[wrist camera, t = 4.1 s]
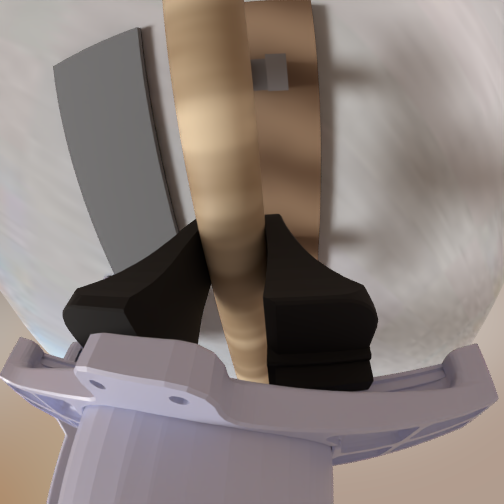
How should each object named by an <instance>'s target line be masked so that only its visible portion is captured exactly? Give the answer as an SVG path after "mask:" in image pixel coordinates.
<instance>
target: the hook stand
mask: <svg viewBox="0 0 504 504" xmlns="http://www.w3.org/2000/svg"><path fill="white" fill-rule="evenodd" d="M244 7H245V16H246V25H247V34H248V43H249V52H250V62H251V71H252V81H253V91H254V102H255V112H256V123H257V134H258V145H259V156H260V168H261V180H262V192H263V204H264V217H265V214H280V215H281V216H282V218H283V221H284V222H285V224H286V226H287V227H288V229H289V230H290V232H291V233H292V234H293V236H294V237H295V238H296V240H297V241H298V242H299V243H300V244H301V245H302V247H303V248H304V249H305V250H306V251H307V252H308V253H309V254H311V255H312V256H313V257H314V258H315V259H316V260H318V245H319V225H320V194H321V129H320V100H319V81H318V66H317V54H316V43H315V33H314V23H313V15H312V7H311V0H265V1H251V2H244Z"/></svg>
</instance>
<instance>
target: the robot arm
mask: <svg viewBox="0 0 504 504" xmlns="http://www.w3.org/2000/svg"><path fill="white" fill-rule="evenodd" d="M265 232H266V246H267V270H266V279H265V286H264V292H263V306H264V317H265V328H266V339H267V369H268V379H269V384H263V383H257V382H251V381H245V380H239V379H234V378H230V377H229V376H228V373H227V370H226V367H225V365H224V364H223V362H222V361H221V360H220V359H219V358H218V357H217V355H216V354H215V353H214V352H212V351H210V350H208V349H206V348H204V347H202V346H200V345H198V339H199V332H200V325H201V319H202V314H203V310H204V306H205V303H206V300H207V296H208V293H209V289H210V286H211V280H210V276H209V272H208V268H207V264H206V259H205V255H204V251H203V247H202V242H201V238H200V233H199V229H198V224H197V220H196V219H195V220H194V221H192V222H191V223H190V224H188V225H187V226H186V227H185V228H184V229H182V230H181V231H180V232H179V233H178V234H176V235H175V236H174V237H173V238H172V239H170V240H169V241H168V242H166V243H165V244H164V245H162V246H161V247H160V248H159V249H157V250H156V251H154V252H153V253H152V254H150V255H149V256H147V257H146V258H144V259H142V260H141V261H139V262H137V263H136V264H134V265H132V266H130V267H128V268H126V269H125V270H123V271H121V272H119V273H117V274H115V275H112V276H110V277H105V278H104V279H103V280H101V281H98V282H95V283H92V284H89V285H87V286H84V287H81V288H77V289H76V291H75V292H74V294H73V295H72V297H71V299H70V300H69V302H68V303H67V305H66V307H65V308H64V310H63V319H64V322H65V325H66V326H67V328H68V329H69V331H70V332H71V334H72V335H73V336H74V337H75V339H76V340H77V342H73V343H72V344H71V345H70V347H69V349H68V351H67V353H66V355H65V357H64V359H63V358H59V357H56V356H52V355H49V354H46V353H44V352H43V350H42V349H41V348H40V347H39V345H38V344H36V343H35V342H34V341H32V340H29V339H26V338H22V337H20V338H19V340H18V341H17V343H16V345H15V347H14V348H13V350H12V352H11V354H10V356H9V358H8V359H7V361H6V363H5V365H4V367H3V369H2V371H1V373H0V378H1V379H2V380H3V381H4V382H5V383H6V384H7V385H9V386H10V387H11V388H12V389H13V390H14V391H15V392H17V393H18V394H19V395H20V396H21V397H22V398H24V399H25V400H26V401H27V402H29V403H30V404H31V405H33V406H34V407H36V408H38V409H40V410H42V411H44V412H46V413H48V414H49V415H51V416H53V417H55V418H56V419H57V421H58V423H59V425H60V426H61V428H62V429H63V431H64V433H65V439H64V441H63V444H62V447H61V450H60V454H59V457H58V460H57V464H56V467H55V471H54V474H53V479H52V482H51V486H50V490H49V495H48V499H47V504H333V467H332V466H335V465H341V464H347V463H352V462H357V461H361V460H366V459H370V458H374V457H378V456H382V455H386V454H389V453H393V452H396V451H399V450H403V449H406V448H409V447H412V446H415V445H418V444H421V443H423V442H427V441H429V440H432V439H435V438H437V437H440V436H443V435H445V434H448V433H450V432H453V431H455V430H458V429H460V428H462V427H464V426H465V425H467V424H468V423H470V422H471V421H472V420H473V419H475V418H476V417H477V416H479V415H480V414H481V413H483V412H484V411H485V410H487V409H488V408H489V407H490V406H491V405H493V404H494V403H495V402H496V401H497V400H498V395H497V392H496V389H495V386H494V383H493V381H492V378H491V375H490V373H489V370H488V368H487V365H486V363H485V360H484V358H483V356H482V353H481V351H480V349H479V346H478V344H472V345H468V346H465V347H461V348H457V349H455V350H453V351H451V352H450V353H449V354H448V355H447V356H446V357H445V359H444V361H443V363H442V364H438V365H434V366H430V367H425V368H421V369H416V370H411V371H406V372H401V373H396V374H390V375H384V376H378V377H373V374H372V370H371V365H370V361H369V360H370V359H371V351H370V347H369V346H370V343H371V341H372V338H373V336H374V333H375V331H376V328H377V323H378V317H377V313H376V309H375V307H374V304H373V302H372V300H371V298H370V296H369V294H368V292H367V290H366V289H365V287H364V285H362V284H359V283H357V282H355V281H352V280H350V279H348V278H345V277H343V276H342V275H340V274H338V273H336V272H334V271H333V270H331V269H329V268H328V267H326V266H325V265H323V264H322V263H321V262H319V261H318V260H316V259H315V258H314V257H313V256H312V255H311V254H309V253H308V252H307V251H306V250H305V249H304V248H303V247H302V245H301V244H300V243H299V242H298V241H297V240H296V238H295V237H294V236H293V234H292V233H291V232H290V230H289V229H288V227H287V226H286V224H285V222H284V221H283V218H282V216H281V215H280V214H265Z"/></svg>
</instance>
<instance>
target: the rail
mask: <svg viewBox="0 0 504 504" xmlns="http://www.w3.org/2000/svg"><path fill="white" fill-rule="evenodd" d="M162 1H163V13H164V23H165V33H166V42H167V50H168V59H169V66H170V74H171V81H172V88H173V95H174V102H175V108H176V114H177V120H178V127H179V132H180V138H181V144H182V149H183V155H184V160H185V166H186V171H187V176H188V181H189V186H190V191H191V196H192V201H193V206H194V211H195V215H196V220H197V224H198V229H199V233H200V238H201V242H202V247H203V251H204V255H205V259H206V264H207V268H208V272H209V276H210V280H211V284H212V288H213V292H214V296H215V300H216V304H217V308H218V311H219V315H220V319H221V323H222V326H223V330H224V334H225V337H226V341H227V344H228V348H229V351H230V355H231V358H232V362H233V365H234V369H235V372H236V375H237V379H239V380H245V381H251V382H257V383H263V384H269V379H268V369H267V339H266V328H265V317H264V306H263V292H264V286H265V279H266V270H267V246H266V232H265V217H264V204H263V192H262V180H261V168H260V156H259V145H258V134H257V123H256V112H255V102H254V91H253V81H252V71H251V62H250V52H249V43H248V34H247V25H246V16H245V7H244V0H162Z"/></svg>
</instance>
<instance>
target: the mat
mask: <svg viewBox="0 0 504 504" xmlns="http://www.w3.org/2000/svg"><path fill="white" fill-rule="evenodd" d="M53 70H54V78H55V85H56V92H57V98H58V103H59V109H60V114H61V119H62V124H63V128H64V132H65V137H66V141H67V145H68V149H69V152H70V156H71V160H72V163H73V167H74V170H75V174H76V177H77V180H78V183H79V186H80V189H81V192H82V195H83V198H84V201H85V204H86V207H87V210H88V212H89V215H90V218H91V220H92V223H93V226H94V228H95V231H96V233H97V236H98V238H99V241H100V243H101V245H102V248H103V250H104V252H105V255H106V257H107V259H108V261H109V264H110V266H111V268H112V270H113V272H114V274H117V273H119V272H121V271H123V270H125V269H126V268H128V267H130V266H132V265H134V264H136V263H137V262H139V261H141V260H142V259H144V258H146V257H147V256H149V255H150V254H152V253H153V252H154V251H156V250H157V249H159V248H160V247H161V246H162V245H164V244H165V243H166V242H168V241H169V240H170V239H172V238H173V237H174V236H175V235H176V234H178V233H179V231H178V228H177V224H176V220H175V216H174V212H173V208H172V204H171V200H170V196H169V192H168V187H167V183H166V179H165V174H164V170H163V165H162V161H161V156H160V151H159V146H158V141H157V136H156V131H155V126H154V120H153V115H152V109H151V103H150V97H149V91H148V84H147V77H146V70H145V63H144V55H143V47H142V38H141V28H138V27H137V28H134V29H131V30H128V31H126V32H123V33H121V34H118V35H116V36H113V37H111V38H108V39H106V40H104V41H101V42H99V43H97V44H95V45H93V46H91V47H89V48H86V49H84V50H82V51H80V52H79V53H77V54H75V55H73V56H71V57H69V58H67V59H65V60H64V61H62V62H60V63H58V64H57V65H55V66H53Z"/></svg>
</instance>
